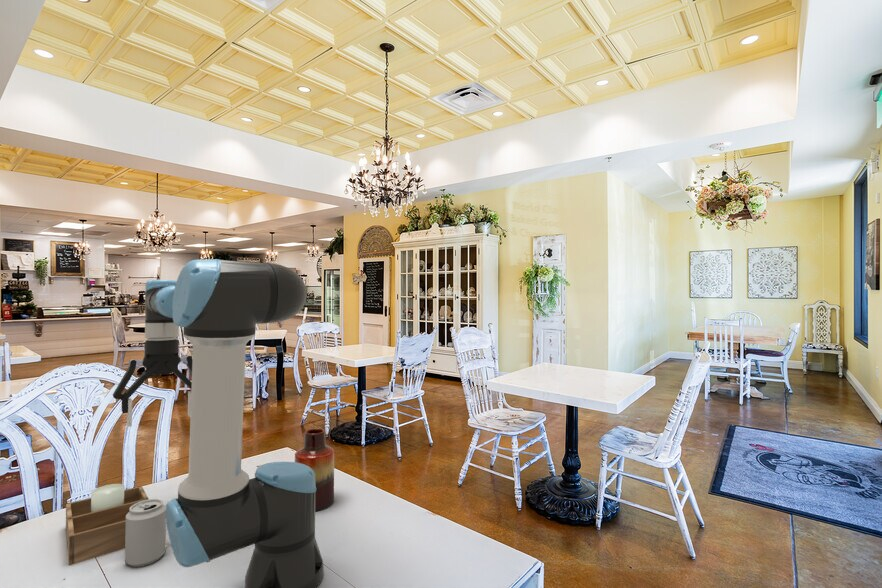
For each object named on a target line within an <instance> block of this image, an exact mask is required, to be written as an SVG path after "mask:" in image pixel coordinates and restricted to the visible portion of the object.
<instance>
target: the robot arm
mask: <svg viewBox="0 0 882 588" xmlns="http://www.w3.org/2000/svg"><path fill="white" fill-rule="evenodd" d="M179 272H180V273H179V275H178V277H177V279H175V280H173V279H149V280H147V281H146V282H145V291H144V295H145V296H144V297H145V299H144V300H145V301H144V302H145V303H144V305H145V306H144V310H145V311H144V313H145V314H144V315H145V317H144V322H145V323H144V338H145V339H147V340H145V341H144V357H143V359H134V358H131V359H129V362H128V368H127V370H126V371H125V373H124V375H123V376H122V378H121V380H120V381H119V383H118V385H117V386H116V388H115V390H114V392H112V397H113V398H114V399H115V400H121V412H122V414H126V426H127V427H128V428H130V427H132V426H133V425H132V424H133V399H132V398H131V397H132V396H133V395H134V393H135V392H136V391H137V390H138V389H140V387H141V386H142V385H143V384H144V383H145V381H146V380H147V379H149V378H150V377H151V376H161V375H164V376H166V375H170V374H172V373H173V374H174V375H175V377H177V378H178V379H179V380H181V382H183V384H185V385H186V386H187V387H188V388H189V389H190V391H189V390H188V391H187V417H189V418H190V422H189V424H190V425H189V445H188V446H189V448H188V475H187V477H186V478H184V479H183V480H181V482H180V484H179V485H178V487H177V489H178V490H177V498H173V499H170V500H169V501H167V503H166V505H165V506H166V530H167V534H168V536H169V537H168V538H169V542H170V545H171V550H172V552H173V554H174V557H175V560H176V561H177V563H178V564H179V566H181V567H183V568H192V567H194V566H198V565H201V564H204V563H210V562H211V561H212V560H214V559H218V558H221V557H223V556H225V555H228V554H231V553H233V552H236V551H238V550H241V549H245V548H246V547H249V546H253V545H254V549H253V552H252V556H251V558H250V560H249V563H248V566H247V567H248V568H247V570H246V574H245V577H244V588H318V586H320V584H321V582H322V581H323V579H324V560H323V556H322V554H321V551H320V548H319V546H318V543H317V542H318V541H317V538H316V512H315V493H316V484H315V474H314V471H313V470H312V469H311V468H310V467H309V466H307V465H304V464H301V463H296V462H295V461H273V462H272V461H271V462H267V463H264V464H262V465H260V466H258V467H257V468H256V470H255V472H254V477H253V478H250V475H249V474H248V473H247V472H246V471H244V469H242V455H243V454H242V452H243V450H242V449H243V427H244V426H243V425H244V406H245V405H244V400H245V377H246V376H245V375H246V356H247V355H246V351H247V344H248V343H249V341H251V340H252V339H253V338H254V337H255V336H256V325H258V324H274V323H279V322H285V321H286V320H289V319H292V318H293V317H295V316H296V315H297V314H299V313H300V312H301V311H302V310H303V308H304V306H305V304H306V302H307V293H308V291H307V286H306V284H305V282H304V280H303V279H302V278H301V276H300V275H299V274H298V273H297V272H295V271H294V270H293V269H291V268H289V267H287V266H284V265H281V264H279V263H278V264H277V263H272V262H254V261H239V260H227V259H226V260H224V259H219V258H218V259H217V258H215V259H193V260H190V261H188V262H187V263H186V264H185V265H183V267H182V268H181V270H180V271H179ZM179 327H180V328H183V332H182V335H183V337H184V338H185V339H186V340H187V341H189V342H190V343H191V345H192V355H189V354H186V355H185V356H181V357H180V355H179V354H180V353H179V349H180V348H179V343H180V341H179V339H177V338H178V337H179V336H180V333H179V331H180V330H179V329H180V328H179ZM181 362H182V364H184V365H186V367H187V369H188V371H189V373H190V374H191V380H190V379H188V376H186V375H185V374H184V373H182V372H181V370H180V369H179V368H178V365H179V364H180V363H181ZM141 365H142V366H143V367H144V369H145V370H144V371H143V372H142V373H141V375H140V376H139V377H138V378H137V379H135V380H134V382H133V383H132V384H131V385H130V386H129V388H127V389H126V391H125V388H126V387H127V385H128V383H129V381H130V380H131V378H132V377H133V375H134V373H135V370H136V369H138V368H140V366H141ZM124 391H125V392H124Z"/></svg>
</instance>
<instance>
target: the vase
mask: <svg viewBox="0 0 882 588" xmlns="http://www.w3.org/2000/svg"><path fill="white" fill-rule="evenodd" d="M303 440H304V441H303V447H301V448H299V449H297V450H296V452H295V453H294V462H296V463H301V464H304V465H307V466H309V467H310V468H311V469H312V470H313V471H314V474H315V484H316V493H315V513H316V512H320V511H323V510H326V509H328V508H330V507H331V506H332V505H333V504H334V500H335V450H334V449H333V447H331V446H329V445H327V444H326V432H325V429H324V428H311V429H309V428H308V429H307V430H305V431H304V439H303Z"/></svg>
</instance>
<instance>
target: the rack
mask: <svg viewBox="0 0 882 588" xmlns="http://www.w3.org/2000/svg"><path fill="white" fill-rule="evenodd" d="M144 489H145V488H143V486H142V485H140V486H136V487H135V486H134V487H132V488H127V489H124V504H123V505H119V506H115V507H111V508H107V509H103V510H99V511H95V512H91V497H89V498H85V499H79V500H75V501H72V502H71V501H70V502H67V503H65V535H66V544H67V545H66V548H67V558H68V566H73V565H76V564H79V563H82V562H86V561H88V560H92V559H95V558H99V557H102V556H105V555H108V554H111V553H114V552H118V551H121V550H125V531H126V515H127V514H128V512H129V508H130V507H131V506H132V505H134V504H136V503H138V502H141V501H144V500H149V497H148V495H147V493H146V491H145V490H144Z"/></svg>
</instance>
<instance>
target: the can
mask: <svg viewBox="0 0 882 588" xmlns="http://www.w3.org/2000/svg"><path fill="white" fill-rule="evenodd" d="M148 499H149V498H148ZM163 503H164V501H163V500H162V499H160V498H150V499H149V500H144V501H141V502H138V503H136V504H134V505H132V506H131V507H130V508H129V512H128V514H127V515H126V531H125V549H124V551H125V552H124V562H125V563H126V564H128V565H130V566H132V567H135V568H136V567H137V568H138V567H144V566H147V565H150V564H153V563H155V562H156V561H158V560H159V559H161V557H162V555H164V554H165V552H166V543H167V542H166V536H167V533H166V532H167V523H166V505H164V504H163Z"/></svg>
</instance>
